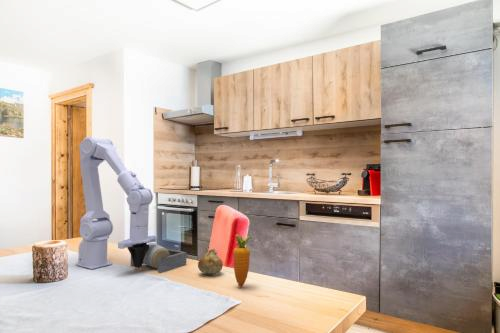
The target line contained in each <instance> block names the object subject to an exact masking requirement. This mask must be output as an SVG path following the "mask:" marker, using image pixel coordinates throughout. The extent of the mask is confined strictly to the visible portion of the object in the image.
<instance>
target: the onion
mask: <svg viewBox="0 0 500 333" xmlns="http://www.w3.org/2000/svg"><path fill="white" fill-rule="evenodd" d="M223 267H224V265H223V260H222V259H221V258H220V257H219V256H218V251H217V250H215V248H211V249H210V250H209V251H207V253H205V255H203V256H202V257H201V258H200V259H199V260H198V262H197V268H198V270H199V271H200V273H202V274H204V275H205V276H215V275H217V274H219V273H220V272H221V271H222V269H223Z"/></svg>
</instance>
